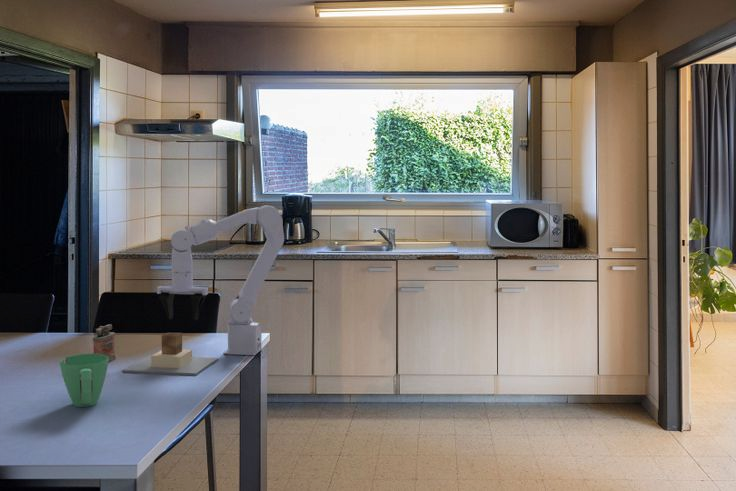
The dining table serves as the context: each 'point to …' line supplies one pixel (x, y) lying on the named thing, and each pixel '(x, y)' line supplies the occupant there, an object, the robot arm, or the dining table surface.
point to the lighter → (105, 342)
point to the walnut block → (172, 343)
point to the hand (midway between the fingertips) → (182, 319)
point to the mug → (84, 377)
